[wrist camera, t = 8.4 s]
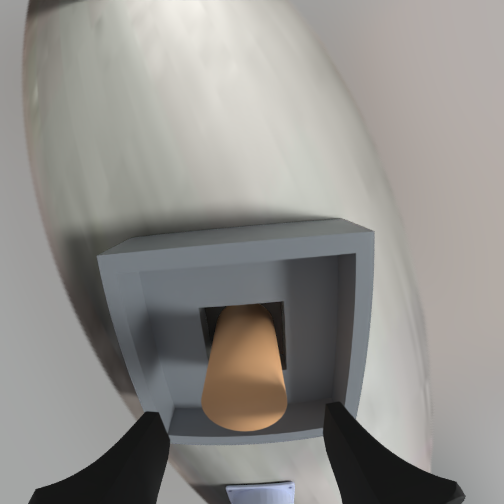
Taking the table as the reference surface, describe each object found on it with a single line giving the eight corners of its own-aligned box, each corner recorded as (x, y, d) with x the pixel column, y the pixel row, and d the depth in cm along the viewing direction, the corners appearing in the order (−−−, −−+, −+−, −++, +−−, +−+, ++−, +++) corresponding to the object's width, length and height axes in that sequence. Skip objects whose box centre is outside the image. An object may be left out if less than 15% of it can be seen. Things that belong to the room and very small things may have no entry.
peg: (275, 347, 20) (288, 427, 12) (221, 352, 20) (209, 432, 12) (271, 298, 19) (286, 368, 11) (212, 303, 19) (193, 375, 11)
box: (337, 388, 21) (353, 430, 16) (171, 400, 21) (158, 442, 16) (342, 218, 18) (374, 231, 13) (131, 237, 18) (96, 255, 13)
